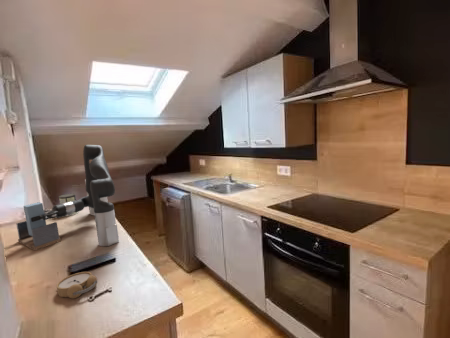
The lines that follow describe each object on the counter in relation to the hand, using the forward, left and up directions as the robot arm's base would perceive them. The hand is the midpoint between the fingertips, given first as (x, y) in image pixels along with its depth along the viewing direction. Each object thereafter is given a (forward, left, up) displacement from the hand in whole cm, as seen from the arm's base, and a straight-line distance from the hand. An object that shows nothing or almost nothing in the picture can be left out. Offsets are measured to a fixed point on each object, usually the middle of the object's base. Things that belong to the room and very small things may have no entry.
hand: (29, 219), depth 132 cm
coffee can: (+36, -36, -14) cm, 52 cm away
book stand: (0, -3, -13) cm, 14 cm away
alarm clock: (-65, +10, -14) cm, 67 cm away
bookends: (0, -3, -12) cm, 12 cm away
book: (0, -3, -9) cm, 9 cm away
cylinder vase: (+17, -47, -14) cm, 52 cm away
